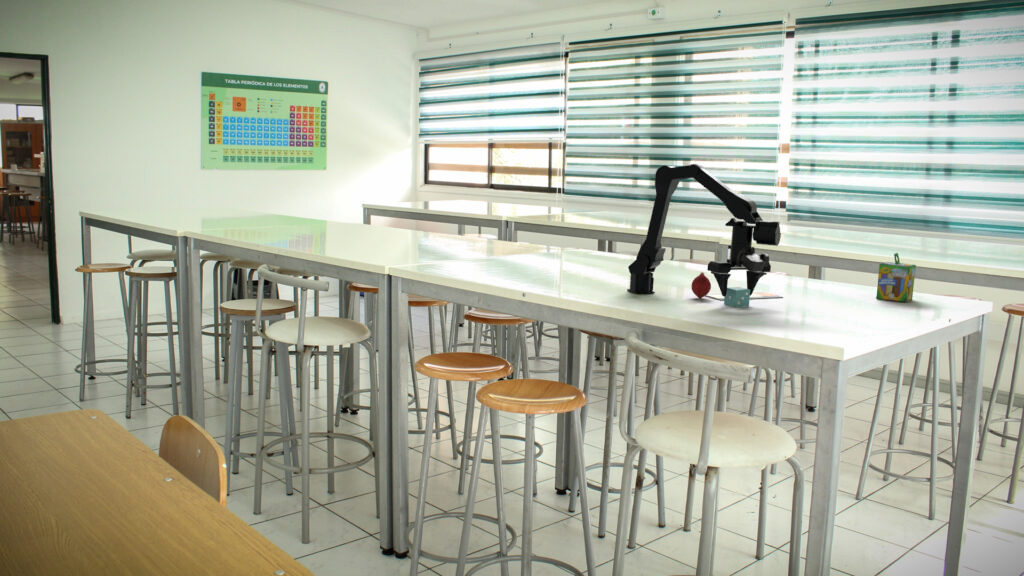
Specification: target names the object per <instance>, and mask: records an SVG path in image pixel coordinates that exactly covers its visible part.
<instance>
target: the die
mask: <svg viewBox="0 0 1024 576" xmlns="http://www.w3.org/2000/svg"><path fill="white" fill-rule="evenodd" d="M750 300H751V299H750V290H749V289H747V288H745V287H742V286H741V287H740V286H729V287H728V286H727V293H726V297H725V298H724V300H723V304H724V305H726V304H727V306H729V307H730V306H731V307H733V306H734V308H738V307H739V306H740V307H739V308H741V306H747V307H750Z"/></svg>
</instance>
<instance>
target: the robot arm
mask: <svg viewBox="0 0 1024 576" xmlns="http://www.w3.org/2000/svg"><path fill="white" fill-rule="evenodd" d="M654 176H655V178H654V188H655V197H654V198H655V199H654V202H653V207H652V211H651V216H650V220H649V223H648V228H647V231H646V232H647V234H646V237H645V240H644V242H643V243H642V244H641V246H640V247H639V250H638V253H637V255H636V259H635V260H634V261H632V263H631V264H629V265H628V267H627V268H628V271H629V273H630V279H629V288H627V289H626V291H628V292H630V293H634V294H638V295H639V294H640V295H642V294H655V290H654V281H655V277H654V272H655V271H656V268H657V267H658V266H660V265H661V264H662V262H663V261H664V255H665V253H666V250H667V248H666V247H663V246H662V238H663V233H664V229H665V225H666V219H667V217H668V212H669V209H670V208H669V207H670V203H671V200H672V199H671V198H672V196H673V194H674V193H675V192H676V190H677V188H678V186H679V184H680V181H683V180H689V179H694V180H695V181H696V182H697V183H699V184H700V185H701V186H703V188H705V189H706V190H707V191H709V193H711V194H712V195H714V196H715V197H716V198H718V199H719V200H720V201H721V202H722V203H723V204H724V206H725V207H726V209H727V210H728V211H729V213H730V214H731V215H732V216H733V217H731V218H730V219H729V221H727V222H726V223H725V225H724V226H726V227H732V228H731V229H732V231H731V241H730V242H731V243H730V244H728V245H727V250H730V251H729V252H730V254H729V258H727V259H726V261H721V260H710V261H708V264H707V271H709V272H710V274H712V275H713V276H714V278H715V280H716V282H717V285H718V288H719V291H720V294H722V296H724V297H726V293H727V287H728V284H729V283H728V282H729V278H730V277H731V276H732V273H730V272H731V271H737V270H738V271H741V270H743V271H745V270H746V289H749V290H750V296H751V295H752V293H753V292H755V291H754V290H755V288H756V287H757V284H758V282H759V280H760V279H761V278H762V277H764V276H766V275H767V273H770V272H771V267H772V265H771V263H770V255H769V254H767V253H760V254H757V253H756V248H755V246H752V242H755V243H756V244H757V245H764V246H772V247H773V246H775V247H777V246H779V244H780V242H781V236H782V232H781V226H780V222H781V221H768V220H767V221H764V220H763V219H762V217H761V215H760V214H759V212H758V211H757V210H758V208H757V207H758V205H757V203H756V202H755V200H752V199H751V198H749V197H747V196H745V195H743V194H741V193H739V192H736V191H734V190H733V189H731V188H730V187H729V186H727V184H725V183H723V181H721V180H720V179H718V177H716V176H714V175H713V174H712V173H711V172H710V171H708V170H707V169H706V168H704V167H703V165H702V164H700V163H691V164H688V165H682V166H675V165H661V166H660V167H658V168H657V169H656V171H655V175H654ZM737 219H738V220H737ZM742 220H743V221H742Z"/></svg>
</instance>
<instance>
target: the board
mask: <svg viewBox="0 0 1024 576" xmlns="http://www.w3.org/2000/svg"><path fill="white" fill-rule="evenodd" d="M704 297H707V298H710V299H713V300H717V301H724V298H725V297H724V296H722V293H708V294H707V295H705V296H704ZM763 299H764V300H765V299H784V297H783V296H780V295H778V294H773V293H769V292H765V291H761V292H760V291H757V292H755V291H753V293H752V295H751V296H750V299H749V300H763Z"/></svg>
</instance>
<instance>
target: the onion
mask: <svg viewBox="0 0 1024 576" xmlns="http://www.w3.org/2000/svg"><path fill="white" fill-rule="evenodd" d="M711 289H712V285H711V281H710V279H709V278H708V277H707V276H706V275H705V273H704V272H703V271H702V272H700V274H699V275H697V276H696V277H695V278H694V279H693V280H692V282H691V291H692V293H693V294H694V295H695V296H696V297H697V298H698V299H702V298H704V297H706V296H705V295H707V294H710V291H711Z"/></svg>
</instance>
